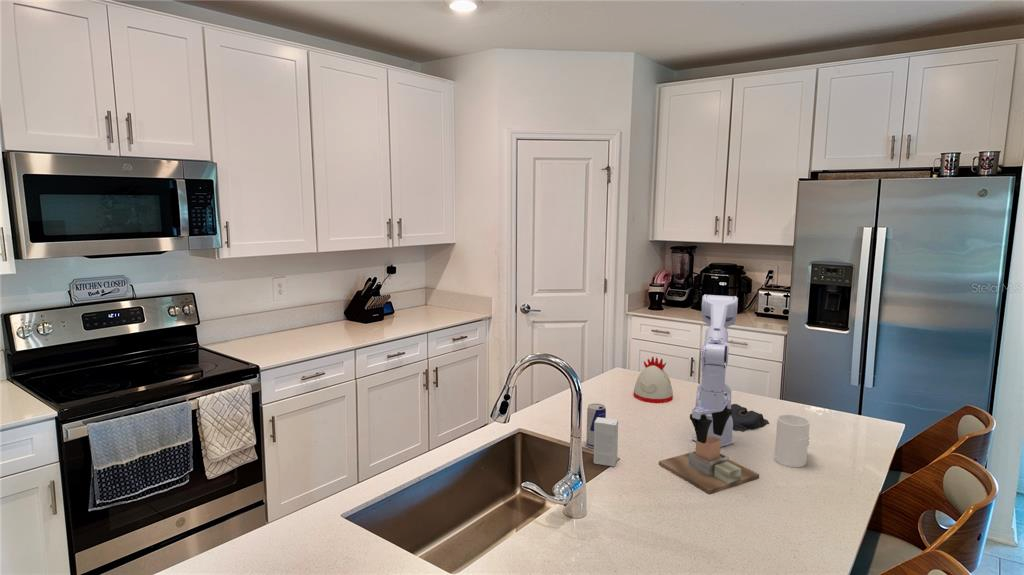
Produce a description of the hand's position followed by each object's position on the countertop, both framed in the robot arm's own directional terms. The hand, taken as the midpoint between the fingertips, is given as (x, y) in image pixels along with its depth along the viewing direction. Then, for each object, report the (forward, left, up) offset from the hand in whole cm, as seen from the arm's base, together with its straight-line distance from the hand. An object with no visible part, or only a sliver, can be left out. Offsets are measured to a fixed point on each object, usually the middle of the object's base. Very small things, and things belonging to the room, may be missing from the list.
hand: (709, 438), depth 154 cm
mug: (-27, +6, -10) cm, 29 cm away
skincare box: (+21, -17, -10) cm, 29 cm away
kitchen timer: (-27, -52, -10) cm, 59 cm away
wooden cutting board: (0, 0, -9) cm, 9 cm away
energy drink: (+17, -27, -10) cm, 33 cm away
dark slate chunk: (-36, -25, -10) cm, 45 cm away
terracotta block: (0, 0, -5) cm, 5 cm away
